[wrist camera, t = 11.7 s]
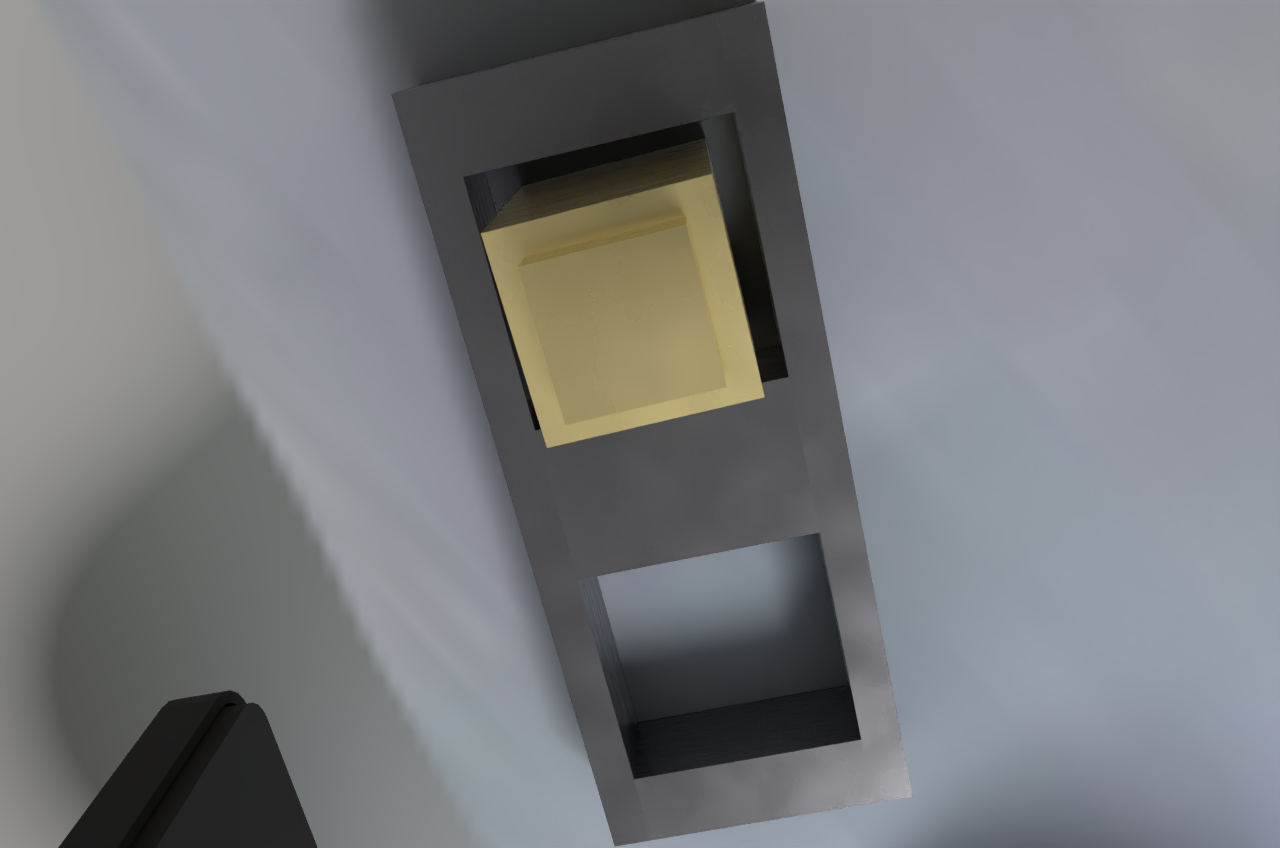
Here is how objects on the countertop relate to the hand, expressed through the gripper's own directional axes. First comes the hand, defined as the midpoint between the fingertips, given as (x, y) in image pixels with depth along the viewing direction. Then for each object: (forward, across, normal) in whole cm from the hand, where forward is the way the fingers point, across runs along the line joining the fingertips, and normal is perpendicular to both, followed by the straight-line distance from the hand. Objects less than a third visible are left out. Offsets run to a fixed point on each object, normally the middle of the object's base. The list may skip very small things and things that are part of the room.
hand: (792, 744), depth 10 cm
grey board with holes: (+19, +2, +4) cm, 20 cm away
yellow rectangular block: (+19, +2, -1) cm, 19 cm away
